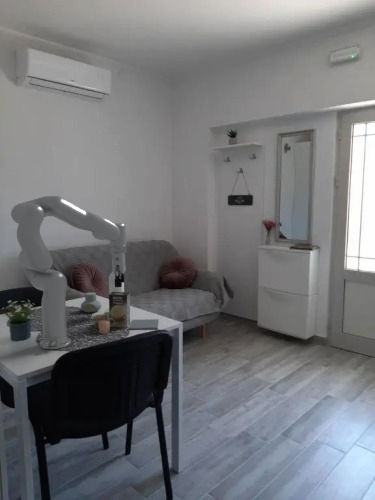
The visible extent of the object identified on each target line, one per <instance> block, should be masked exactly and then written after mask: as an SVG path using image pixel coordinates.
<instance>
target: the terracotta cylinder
mask: <svg viewBox="0 0 375 500" xmlns="http://www.w3.org/2000/svg"><path fill="white" fill-rule="evenodd" d="M110 332H111V327H110V321H109V320H101V321H99V328H98V333H99V334H103V335H106V334H109V333H110Z"/></svg>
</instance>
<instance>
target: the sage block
mask: <svg viewBox="0 0 375 500" xmlns="http://www.w3.org/2000/svg"><path fill="white" fill-rule="evenodd" d="M103 315H107V320H109V308H108V309H105V310H104V314H103Z"/></svg>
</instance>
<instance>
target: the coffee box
mask: <svg viewBox="0 0 375 500" xmlns="http://www.w3.org/2000/svg"><path fill="white" fill-rule="evenodd" d="M108 309H109V321H110V328H123V329H124V328H127V329H128V328H129V327H130V326H131V293H130V292H127V291H126V292H125V291H124V292H112V293H110V294H108Z"/></svg>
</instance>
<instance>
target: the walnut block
mask: <svg viewBox="0 0 375 500" xmlns="http://www.w3.org/2000/svg"><path fill="white" fill-rule="evenodd" d="M101 320H107V315H104V314H96V315H95V317H94V328H95V329H97V328H98V329H99V321H101Z"/></svg>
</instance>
